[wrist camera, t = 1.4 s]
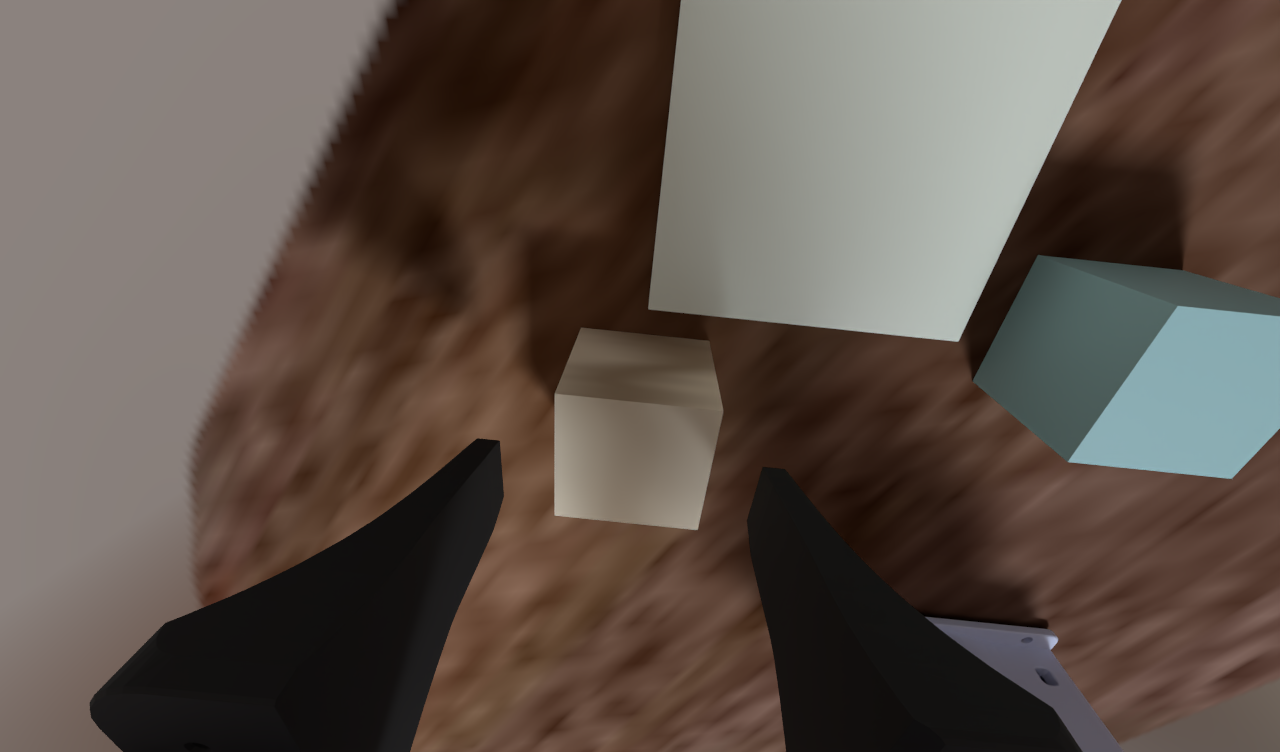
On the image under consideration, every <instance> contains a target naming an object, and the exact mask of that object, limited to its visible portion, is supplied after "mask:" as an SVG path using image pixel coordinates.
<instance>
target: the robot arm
mask: <svg viewBox="0 0 1280 752" xmlns="http://www.w3.org/2000/svg"><path fill="white" fill-rule="evenodd" d="M503 497H504V492H503V479H502V465H501V452H500V441H498V440H488V439H478V438H477V439H476V440H475V441H474V442H472V443H471V444H470V445H469V446H468V447H466V448H465V449H464V450H463V451H462V452H461V453H459V454H458V455H457V456H456V457H455V458H454V459H452V460H451V461H450V462H449V463H448V464H446V465H445V466H444V467H443V468H442V469H441V470H439V471H438V472H437V473H436V474H434V475H433V476H432V477H431V478H430V479H428V480H427V481H426V482H425V483H423V484H422V485H421V486H420V487H418V488H417V489H416V490H415V491H413V492H412V493H411V494H409V495H408V496H407V497H405V498H404V499H403V500H401V501H400V502H399V503H397V504H396V505H394V506H393V507H392V508H390V509H389V510H388V511H386V512H385V513H383V514H382V515H381V516H379V517H378V518H376V519H375V520H373V521H372V522H370V523H369V524H367V525H366V526H364V527H362V528H361V529H359V530H358V531H356V532H354V533H353V534H351V535H350V536H348V537H346V538H345V539H343V540H341V541H340V542H338V543H336V544H334V545H332V546H331V547H329V548H327V549H325V550H323V551H321V552H320V553H318V554H316V555H314V556H312V557H311V558H309V559H307V560H305V561H303V562H302V563H300V564H298V565H296V566H294V567H292V568H290V569H288V570H286V571H284V572H282V573H280V574H278V575H276V576H274V577H272V578H270V579H268V580H265V581H263V582H261V583H259V584H257V585H255V586H253V587H250V588H248V589H246V590H244V591H242V592H239V593H237V594H235V595H233V596H230V597H228V598H226V599H223V600H221V601H218V602H216V603H214V604H211V605H209V606H206V607H204V608H201V609H199V610H197V611H194V612H192V613H189V614H187V615H185V616H182V617H180V618H177V619H174V620H172V621H169V622H167V623H165V624H164V625H163V626H162V627H161V628H160V629H159V630H158V631H157V632H156V633H155V634H154V635H153V636H152V637H151V638H150V639H149V640H148V641H147V642H146V643H145V644H144V645H143V646H142V647H141V648H140V649H139V650H138V651H137V652H136V653H135V654H134V655H133V656H132V657H131V658H130V659H129V660H128V661H127V662H126V663H125V664H124V665H123V666H122V668H120V669H119V670H118V671H117V672H116V674H114V675H113V676H112V677H111V679H110V680H109V681H108V682H107V683H106V684H105V685H104V686H103V687H102V688H101V689H100V690H99V691H98V692H97V693H96V694H95V695H94V697H93V698H92V700H91V702H90V712H91V718H92V719H93V721H94V722H95V723H96V724H97V726H98V727H99V728H100V729H101V730H102V731H103V732H104V733H105V734H106V735H107V736H108V737H109V738H110V739H111V740H112V741H113V742H114V743H115V744H116V745H117V746H118V747H119V748H120V749H121V750H122V751H123V752H410V750H411V747H412V743H413V740H414V737H415V734H416V730H417V727H418V724H419V720H420V717H421V714H422V711H423V707H424V704H425V701H426V698H427V695H428V692H429V689H430V686H431V683H432V680H433V677H434V674H435V671H436V668H437V665H438V662H439V659H440V656H441V653H442V650H443V647H444V644H445V641H446V639H447V636H448V633H449V630H450V627H451V624H452V622H453V619H454V617H455V614H456V612H457V610H458V607H459V605H460V603H461V601H462V598H463V596H464V594H465V592H466V590H467V587H468V585H469V583H470V581H471V579H472V576H473V574H474V572H475V570H476V568H477V566H478V563H479V561H480V559H481V557H482V555H483V552H484V550H485V548H486V546H487V543H488V541H489V539H490V537H491V534H492V532H493V530H494V526H495V523H496V520H497V517H498V514H499V511H500V507H501V504H502V501H503ZM747 524H748V534H749V544H750V552H751V558H752V563H753V567H754V571H755V576H756V580H757V584H758V588H759V593H760V597H761V601H762V605H763V609H764V613H765V618H766V622H767V626H768V630H769V634H770V639H771V644H772V649H773V654H774V660H775V667H776V674H777V681H778V688H779V695H780V703H781V711H782V720H783V728H784V736H785V745H786V752H1124V751H1123V750H1122V748H1121V747H1120V745H1119V744H1118V743H1117V741H1116V740H1115V739H1114V737H1113V736H1112V734H1111V733H1110V732H1109V730H1108V729H1107V728H1106V726H1105V725H1104V723H1103V722H1102V721H1101V719H1100V718H1099V717H1098V715H1097V714H1096V712H1095V711H1094V710H1093V708H1092V707H1091V705H1090V704H1089V703H1088V701H1087V700H1086V699H1085V697H1084V696H1083V694H1082V693H1081V692H1080V690H1079V689H1078V688H1077V686H1076V685H1075V683H1074V682H1073V681H1072V679H1071V678H1070V677H1069V675H1068V674H1067V672H1066V671H1065V670H1064V668H1063V667H1062V666H1061V664H1060V663H1059V661H1058V660H1057V659H1056V657H1055V656H1054V655H1053V653H1052V652H1051V651H1050V650H1051V649H1052V648H1053V647H1054V646H1055V644H1056V643H1057V642H1058V638H1057V636H1056V635H1055V634H1054V632H1053V631H1051V630H1048V629H1042V628H1032V627H1022V626H1012V625H1002V624H993V623H983V622H973V621H963V620H953V619H943V618H933V617H924V616H923V615H922V614H921V613H919V612H918V611H917V610H916V609H915V608H913V607H912V606H911V605H910V604H909V603H908V602H906V601H905V600H904V599H903V598H902V597H901V596H900V595H898V594H897V593H896V592H895V591H894V590H893V589H892V588H891V587H890V586H889V585H888V584H887V583H885V582H884V581H883V580H882V579H881V578H880V577H879V576H878V575H877V574H876V573H875V572H874V571H873V570H872V569H871V568H870V567H869V566H868V565H867V564H866V563H865V562H864V561H863V560H862V559H861V558H860V557H859V556H858V555H857V554H856V553H855V552H854V551H853V550H852V549H851V548H850V547H849V546H848V544H847V543H846V542H845V541H844V540H843V539H842V538H841V537H840V536H839V535H838V533H837V532H836V531H835V530H834V529H833V528H832V527H831V525H830V524H829V523H828V522H827V521H826V519H825V518H824V517H823V516H822V515H821V514H820V512H819V511H818V510H817V509H816V507H815V506H814V505H813V504H812V503H811V501H810V500H809V499H808V498H807V496H806V495H805V494H804V493H803V491H802V490H801V489H800V487H799V486H798V485H797V484H796V482H795V481H794V480H793V479H792V477H791V476H790V475H789V474H788V472H787V471H786V470H785V469H777V468H767V467H763V468H762V471H761V475H760V478H759V482H758V485H757V488H756V492H755V495H754V499H753V502H752V506H751V509H750V512H749V516H748V519H747Z"/></svg>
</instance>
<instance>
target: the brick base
mask: <svg viewBox="0 0 1280 752" xmlns="http://www.w3.org/2000/svg"><path fill="white" fill-rule="evenodd" d="M722 415H723V406H722V401H721V396H720V391H719V386H718V381H717V377H716V372H715V367H714V362H713V357H712V352H711V347H710V342H709V341H706V340H697V339H687V338H677V337H668V336H658V335H648V334H639V333H629V332H620V331H610V330H600V329H591V328H581V329H580V331H579V334H578V336H577V339H576V341H575V344H574V346H573V349H572V352H571V354H570V357H569V359H568V362H567V364H566V367H565V369H564V372H563V374H562V377H561V379H560V382H559V384H558V387H557V389H556V392H555V516H564V517H574V518H584V519H594V520H604V521H614V522H623V523H633V524H643V525H653V526H663V527H673V528H683V529H692V530H698V526H699V521H700V516H701V512H702V507H703V503H704V498H705V493H706V489H707V484H708V480H709V475H710V471H711V466H712V461H713V457H714V452H715V448H716V443H717V438H718V434H719V429H720V425H721V420H722Z"/></svg>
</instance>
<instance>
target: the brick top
mask: <svg viewBox="0 0 1280 752" xmlns="http://www.w3.org/2000/svg"><path fill="white" fill-rule="evenodd" d="M973 382H974V383H975V384H976V385H978V386H979V387H980V388H981V389H982V390H984V391H985V392H986V393H987V394H988V395H989V396H991V397H992V398H993V399H994V400H995V401H997V402H998V403H999V404H1000V405H1001V406H1002V407H1004V408H1005V409H1006V410H1007V411H1008V412H1009V413H1011V414H1012V415H1013V416H1014V417H1015V418H1017V419H1018V420H1019V421H1020V422H1021V423H1022V424H1024V425H1025V426H1026V427H1027V428H1028V429H1029V430H1031V431H1032V432H1033V433H1034V434H1035V435H1037V436H1038V437H1039V438H1040V439H1041V440H1042V441H1044V442H1045V443H1046V444H1047V445H1048V446H1050V447H1051V448H1052V449H1053V450H1054V451H1055V452H1057V453H1058V454H1059V455H1060V456H1061V457H1062V458H1064V459H1065V460H1066V461H1067V462H1073V463H1083V464H1093V465H1102V466H1112V467H1122V468H1132V469H1141V470H1151V471H1161V472H1170V473H1180V474H1190V475H1199V476H1209V477H1219V478H1229V479H1232V478H1233V477H1234V476H1235V475H1236V474H1237V473H1238V472H1239V470H1240V469H1241V468H1242V467H1243V466H1244V465H1245V464H1246V463H1247V462H1248V461H1249V460H1250V459H1251V458H1252V457H1253V456H1254V455H1255V454H1256V453H1257V452H1258V451H1259V449H1260V448H1261V447H1262V446H1263V445H1264V444H1265V443H1266V442H1267V441H1268V440H1269V439H1270V438H1271V437H1272V436H1273V435H1274V434H1275V433H1276V432H1277V431H1278V430H1279V428H1280V298H1276V297H1273V296H1269V295H1266V294H1263V293H1259V292H1256V291H1252V290H1249V289H1245V288H1242V287H1238V286H1235V285H1232V284H1228V283H1225V282H1221V281H1218V280H1214V279H1211V278H1207V277H1204V276H1201V275H1197V274H1194V273H1190V272H1187V271H1183V270H1175V269H1166V268H1156V267H1147V266H1137V265H1128V264H1118V263H1108V262H1099V261H1089V260H1080V259H1070V258H1061V257H1051V256H1042V255H1038V256H1037V258H1036V260H1035V262H1034V264H1033V265H1032V267H1031V269H1030V271H1029V273H1028V275H1027V277H1026V279H1025V281H1024V283H1023V285H1022V287H1021V289H1020V291H1019V292H1018V294H1017V296H1016V298H1015V300H1014V302H1013V304H1012V306H1011V308H1010V310H1009V312H1008V314H1007V316H1006V317H1005V319H1004V321H1003V323H1002V325H1001V327H1000V329H999V331H998V333H997V335H996V337H995V339H994V341H993V343H992V344H991V346H990V348H989V350H988V352H987V354H986V356H985V358H984V360H983V362H982V364H981V366H980V368H979V370H978V371H977V373H976V375H975V377H974V379H973Z"/></svg>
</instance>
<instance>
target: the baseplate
mask: <svg viewBox="0 0 1280 752" xmlns="http://www.w3.org/2000/svg"><path fill="white" fill-rule="evenodd" d="M1120 2H1121V0H681V4H680V14H679V23H678V32H677V42H676V51H675V60H674V70H673V79H672V88H671V98H670V107H669V116H668V126H667V135H666V145H665V154H664V163H663V173H662V182H661V191H660V201H659V210H658V219H657V229H656V238H655V247H654V257H653V266H652V276H651V285H650V294H649V304H648V309H649V310H659V311H668V312H678V313H688V314H697V315H707V316H716V317H726V318H736V319H745V320H755V321H765V322H774V323H784V324H793V325H803V326H813V327H822V328H832V329H841V330H851V331H861V332H870V333H880V334H889V335H899V336H909V337H918V338H928V339H937V340H947V341H957V342H958V341H959V339H960V337H961V335H962V333H963V331H964V329H965V327H966V324H967V322H968V320H969V318H970V316H971V314H972V312H973V310H974V308H975V306H976V304H977V301H978V299H979V297H980V295H981V293H982V291H983V289H984V287H985V285H986V283H987V280H988V278H989V276H990V274H991V272H992V270H993V268H994V266H995V264H996V262H997V260H998V257H999V255H1000V253H1001V251H1002V249H1003V247H1004V245H1005V243H1006V241H1007V239H1008V237H1009V234H1010V232H1011V230H1012V228H1013V226H1014V224H1015V222H1016V220H1017V218H1018V216H1019V213H1020V211H1021V209H1022V207H1023V205H1024V203H1025V201H1026V199H1027V197H1028V195H1029V193H1030V190H1031V188H1032V186H1033V184H1034V182H1035V180H1036V178H1037V176H1038V174H1039V172H1040V170H1041V167H1042V165H1043V163H1044V161H1045V159H1046V157H1047V155H1048V153H1049V151H1050V149H1051V146H1052V144H1053V142H1054V140H1055V138H1056V136H1057V134H1058V132H1059V130H1060V128H1061V126H1062V123H1063V121H1064V119H1065V117H1066V115H1067V113H1068V111H1069V109H1070V107H1071V105H1072V103H1073V100H1074V98H1075V96H1076V94H1077V92H1078V90H1079V88H1080V86H1081V84H1082V82H1083V80H1084V77H1085V75H1086V73H1087V71H1088V69H1089V67H1090V65H1091V63H1092V61H1093V59H1094V56H1095V54H1096V52H1097V50H1098V48H1099V46H1100V44H1101V42H1102V40H1103V38H1104V36H1105V33H1106V31H1107V29H1108V27H1109V25H1110V23H1111V21H1112V19H1113V17H1114V15H1115V13H1116V10H1117V8H1118V6H1119V4H1120Z"/></svg>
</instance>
